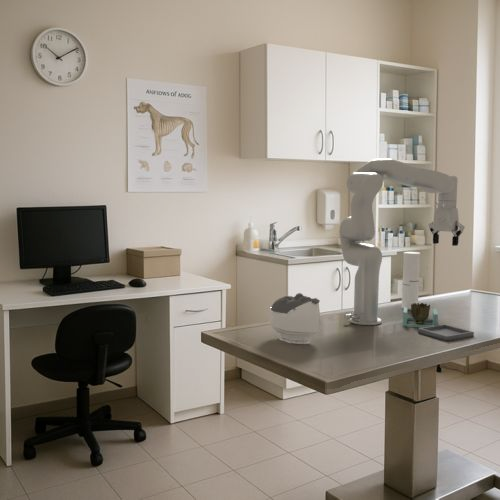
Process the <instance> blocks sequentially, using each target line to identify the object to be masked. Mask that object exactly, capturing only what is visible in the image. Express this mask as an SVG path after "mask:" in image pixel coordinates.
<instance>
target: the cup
mask: <svg viewBox="0 0 500 500" xmlns="http://www.w3.org/2000/svg"><path fill="white" fill-rule="evenodd" d="M410 311H411V318H414V319H415V320H416V321H414V322H415V323H414V324H417V325H425V322H426V321H425V320H426V319H429V316H430V311H431V305H430V303H429V304H428V305H427V303H424V302H421V303H419V302H418V304H416V303H413V305H412V304H411V309H410Z"/></svg>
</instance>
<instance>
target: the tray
mask: <svg viewBox="0 0 500 500" xmlns="http://www.w3.org/2000/svg"><path fill="white" fill-rule="evenodd" d="M417 333H418V334H422V335H423V336H428V337H430V338H434V339H437V340H440V341H444V342H450V341H457V340H463V339H467V338H473V337H474V335H475V332H474V331H473V330H468V329H465V328H461V327H457V326H453V325H450V324H446V323H442V324H437V325H435V326H433V325H432V326H429V327H423V328H420V327H417Z"/></svg>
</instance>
